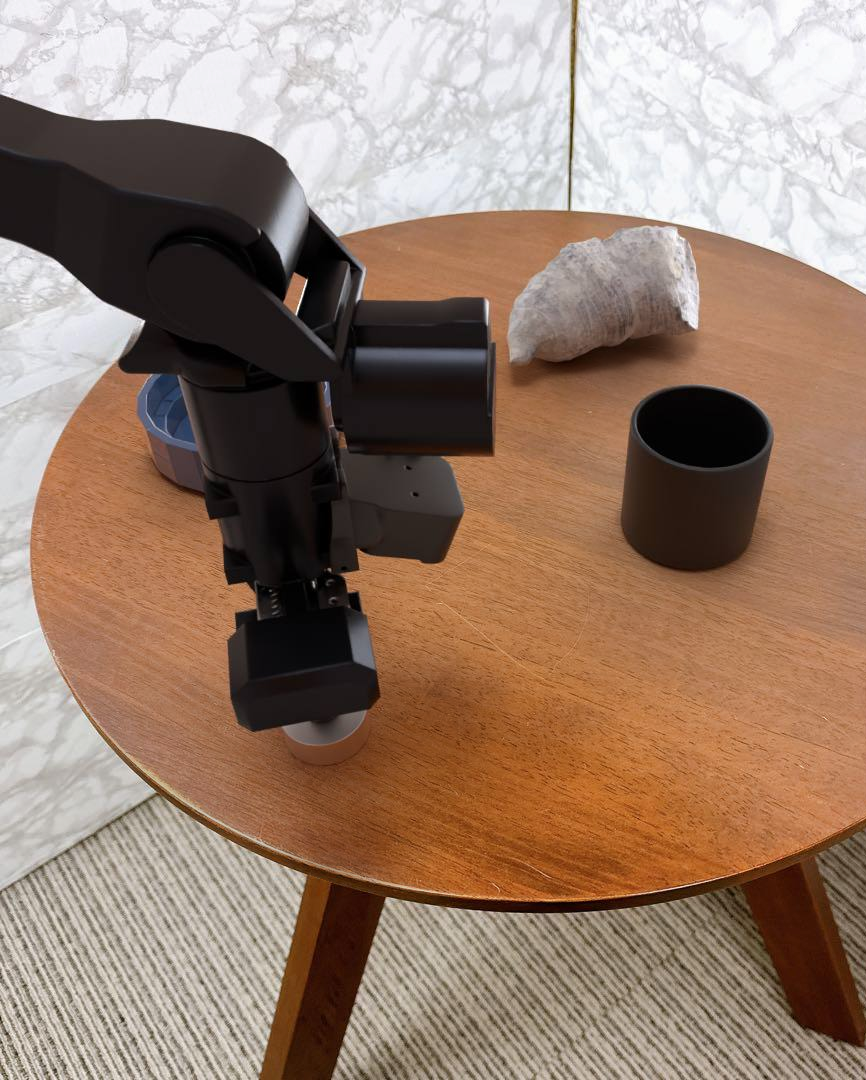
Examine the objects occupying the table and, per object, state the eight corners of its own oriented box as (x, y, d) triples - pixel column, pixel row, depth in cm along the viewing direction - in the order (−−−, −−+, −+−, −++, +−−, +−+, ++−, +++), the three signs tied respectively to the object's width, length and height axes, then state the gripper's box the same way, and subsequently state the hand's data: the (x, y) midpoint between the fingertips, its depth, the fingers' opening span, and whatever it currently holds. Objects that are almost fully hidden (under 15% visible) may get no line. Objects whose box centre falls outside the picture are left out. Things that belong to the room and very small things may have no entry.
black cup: (804, 522, 74) (832, 422, 67) (680, 592, 68) (697, 490, 62) (715, 454, 79) (732, 356, 73) (593, 514, 74) (601, 413, 68)
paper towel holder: (288, 773, 58) (253, 648, 50) (281, 704, 61) (248, 577, 54) (376, 755, 59) (355, 629, 51) (364, 688, 62) (343, 561, 55)
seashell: (502, 387, 85) (501, 279, 78) (523, 296, 95) (524, 194, 89) (696, 402, 84) (712, 294, 77) (695, 308, 94) (710, 206, 88)
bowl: (151, 513, 73) (134, 465, 70) (152, 397, 83) (138, 350, 80) (352, 482, 76) (345, 435, 73) (330, 374, 86) (323, 328, 83)
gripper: (490, 555, 40) (495, 776, 51) (411, 309, 53) (428, 527, 64) (197, 605, 38) (267, 825, 49) (189, 336, 51) (246, 557, 62)
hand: (313, 664), depth 56 cm, fingers closed on paper towel holder
